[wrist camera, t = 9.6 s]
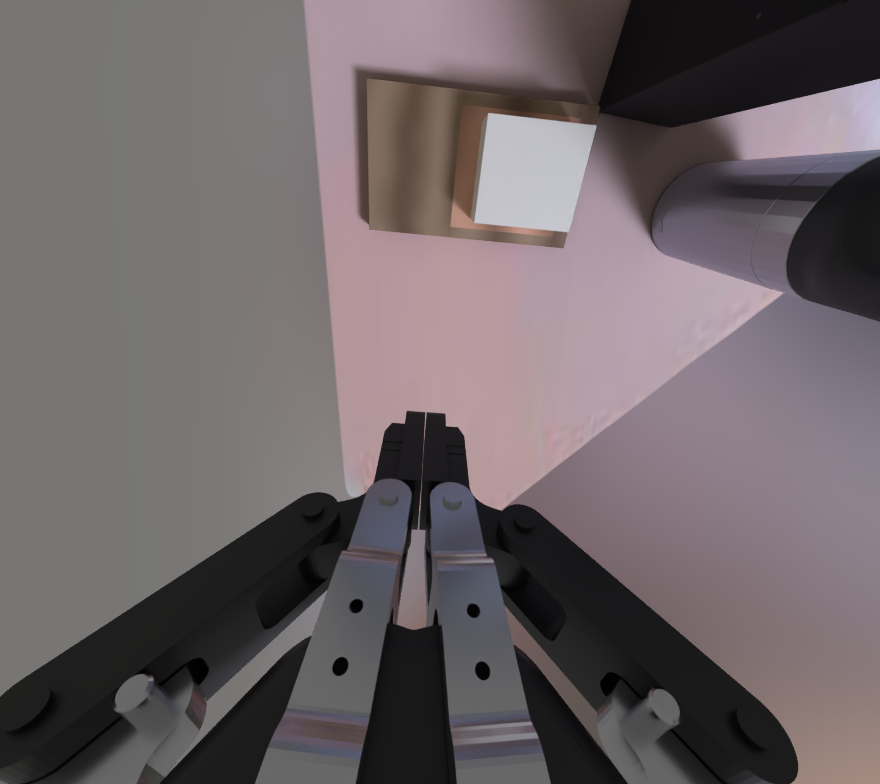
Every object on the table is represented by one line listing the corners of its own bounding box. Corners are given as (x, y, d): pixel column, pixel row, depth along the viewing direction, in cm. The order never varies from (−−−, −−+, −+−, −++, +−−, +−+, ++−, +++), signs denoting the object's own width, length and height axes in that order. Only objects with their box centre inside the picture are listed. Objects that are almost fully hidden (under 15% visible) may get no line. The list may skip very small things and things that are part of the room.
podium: (591, 110, 32) (600, 106, 31) (557, 245, 39) (563, 248, 37) (370, 83, 31) (366, 78, 30) (372, 227, 38) (369, 229, 36)
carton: (577, 132, 32) (596, 125, 28) (554, 226, 36) (568, 232, 32) (482, 121, 31) (488, 112, 27) (470, 218, 35) (474, 222, 31)
